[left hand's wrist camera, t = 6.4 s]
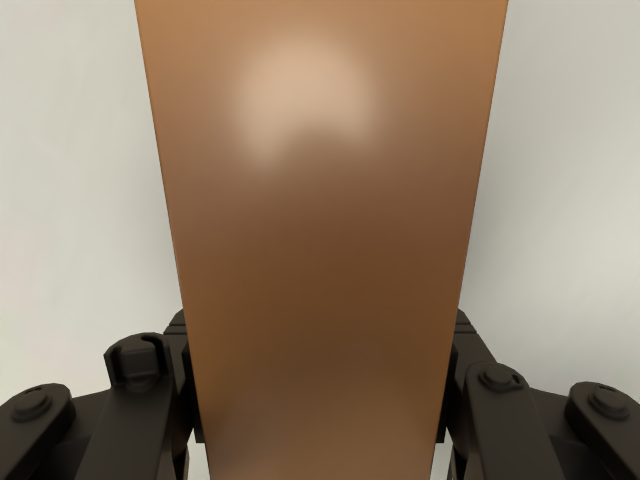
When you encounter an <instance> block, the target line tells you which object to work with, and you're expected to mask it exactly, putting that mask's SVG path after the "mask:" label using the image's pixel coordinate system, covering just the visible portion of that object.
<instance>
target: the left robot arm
mask: <svg viewBox="0 0 640 480" xmlns="http://www.w3.org/2000/svg"><path fill="white" fill-rule="evenodd" d="M104 359H105V363H106V367H107V371H108V375H109V379H110V382H111V388H110V389H108V390H105V391H102V392H98V393H93V394H89V395H84V396H80V397H76V398H72V396H71V393H70V390H69V389H68V388H67V387H66V386H65V385H62V384H57V383H51V384H43V385H39V386H35V387H32V388H30V389H27V390H25V391H23V392H21V393H19V394H17V395H15V396H13V397H12V398H10V399H9V400H8V401H7V402H5V403H4V404H3V405H1V406H0V480H187V479H188V468H189V452H188V446H187V442H188V440H189V437H190V435H191V432H192V429H193V428H194V434H195V440H196V443H204V436H203V430H202V424H201V417H200V411H199V405H198V399H197V392H196V386H195V380H194V373H193V367H192V361H191V355H190V348H189V342H188V336H187V329H186V323H185V317H184V311H183V309H182V310H180V311H179V312H178V313H176V314H175V316H174V317H173V319H172V320H171V322H170V323H169V326H168V327H167V328H166V330H165V331H164V333H163V335H162V334H159V333H155V332H150V333H139V334H135V335H131V336H128V337H126V338H124V339H121V340H119V341H118V342H116V343H115V344H113V345H112V346H110V347H109V348H108V350H107V351H106V352H105V354H104ZM446 426H447V428H448V431H449V434H450V436H451V439H452V441H453V446H452V452H451V457H450V463H449V469H448V475H447V480H452V478H453V480H640V404H638V403H637V402H636V401H635V400H633V399H632V398H631V397H629V396H628V395H626V394H624V393H623V392H621V391H619V390H617V389H615V388H613V387H610V386H606V385H603V384H600V383H594V382H580V383H576V384H575V385H574V386H572V387H571V389H570V392H569V395H568V397H567V396H562V395H558V394H553V393H549V392H545V391H540V390H537V389H533V388H530V387H529V385H528V383H527V382H526V380H525V379H524V377H523V376H521V375H520V374H519V373H518V372H516V371H515V370H514V369H512V368H510V367H508V366H506V365H504V364H500V363H497V361H496V360H495V358H494V357H493V355H492V354H491V352H490V351H489V349H488V348H487V346H486V345H485V343H484V342H483V340H482V339H481V337H480V336H479V334H477V331H476V330H475V328H474V327H473V325H471V322H470V321H469V319H468V318H467V316H466V315H465V313H464V312H462V311H461V310H460V309H458V310H457V316H456V322H455V328H454V334H453V341H452V347H451V353H450V359H449V365H448V371H447V377H446V383H445V389H444V395H443V401H442V408H441V414H440V420H439V426H438V432H437V438H436V443H444V438H445V432H446Z"/></svg>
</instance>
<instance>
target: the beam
mask: <svg viewBox="0 0 640 480" xmlns="http://www.w3.org/2000/svg"><path fill="white" fill-rule="evenodd" d="M134 3H135V9H136V15H137V22H138V28H139V34H140V40H141V47H142V53H143V59H144V66H145V72H146V78H147V84H148V91H149V97H150V103H151V110H152V116H153V122H154V128H155V135H156V141H157V147H158V154H159V160H160V166H161V172H162V179H163V185H164V191H165V198H166V204H167V210H168V216H169V223H170V229H171V235H172V242H173V248H174V254H175V260H176V267H177V273H178V279H179V285H180V292H181V298H182V304H183V311H184V317H185V323H186V329H187V336H188V342H189V348H190V355H191V361H192V367H193V373H194V380H195V386H196V392H197V399H198V405H199V411H200V417H201V424H202V430H203V436H204V443H205V449H206V455H207V461H208V468H209V474H210V480H430V475H431V468H432V462H433V456H434V450H435V444H436V438H437V432H438V426H439V420H440V414H441V408H442V401H443V395H444V389H445V383H446V377H447V371H448V365H449V359H450V353H451V347H452V341H453V334H454V328H455V322H456V316H457V310H458V304H459V298H460V292H461V286H462V280H463V274H464V267H465V261H466V255H467V249H468V243H469V237H470V231H471V225H472V219H473V213H474V207H475V200H476V194H477V188H478V182H479V176H480V170H481V164H482V158H483V152H484V146H485V140H486V133H487V127H488V121H489V115H490V109H491V103H492V97H493V91H494V85H495V79H496V73H497V66H498V60H499V54H500V48H501V42H502V36H503V30H504V24H505V18H506V12H507V6H508V0H134Z"/></svg>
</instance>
